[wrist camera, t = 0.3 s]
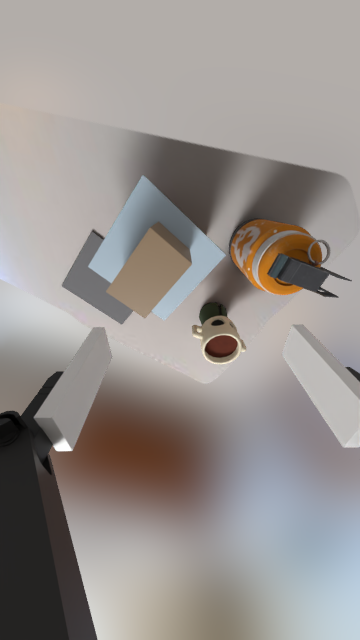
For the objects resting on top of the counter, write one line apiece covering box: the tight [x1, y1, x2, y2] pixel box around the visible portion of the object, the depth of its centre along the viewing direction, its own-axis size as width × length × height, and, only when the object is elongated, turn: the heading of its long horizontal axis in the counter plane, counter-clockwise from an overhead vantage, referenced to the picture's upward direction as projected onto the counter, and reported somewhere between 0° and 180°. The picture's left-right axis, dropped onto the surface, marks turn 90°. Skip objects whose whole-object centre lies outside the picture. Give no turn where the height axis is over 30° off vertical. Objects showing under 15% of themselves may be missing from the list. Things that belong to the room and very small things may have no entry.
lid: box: [88, 175, 226, 321], centre depth 24 cm, size 13×13×9 cm
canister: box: [229, 219, 352, 298], centre depth 29 cm, size 9×11×20 cm
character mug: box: [192, 303, 246, 364], centre depth 40 cm, size 11×7×13 cm, turn 70°
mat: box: [62, 231, 133, 324], centre depth 42 cm, size 15×14×1 cm
